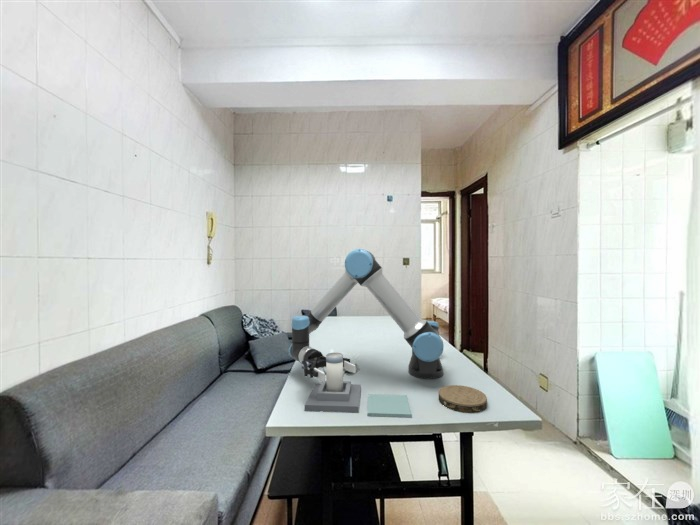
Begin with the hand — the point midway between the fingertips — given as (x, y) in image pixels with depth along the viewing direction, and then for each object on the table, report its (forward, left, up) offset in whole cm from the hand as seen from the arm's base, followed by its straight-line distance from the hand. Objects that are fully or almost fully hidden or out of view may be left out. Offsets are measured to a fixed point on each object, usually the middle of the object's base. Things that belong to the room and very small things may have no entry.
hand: (340, 373), depth 104 cm
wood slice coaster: (-43, -4, -11) cm, 44 cm away
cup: (+2, -3, -9) cm, 9 cm away
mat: (-17, +1, -11) cm, 20 cm away
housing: (+2, -3, -11) cm, 11 cm away
